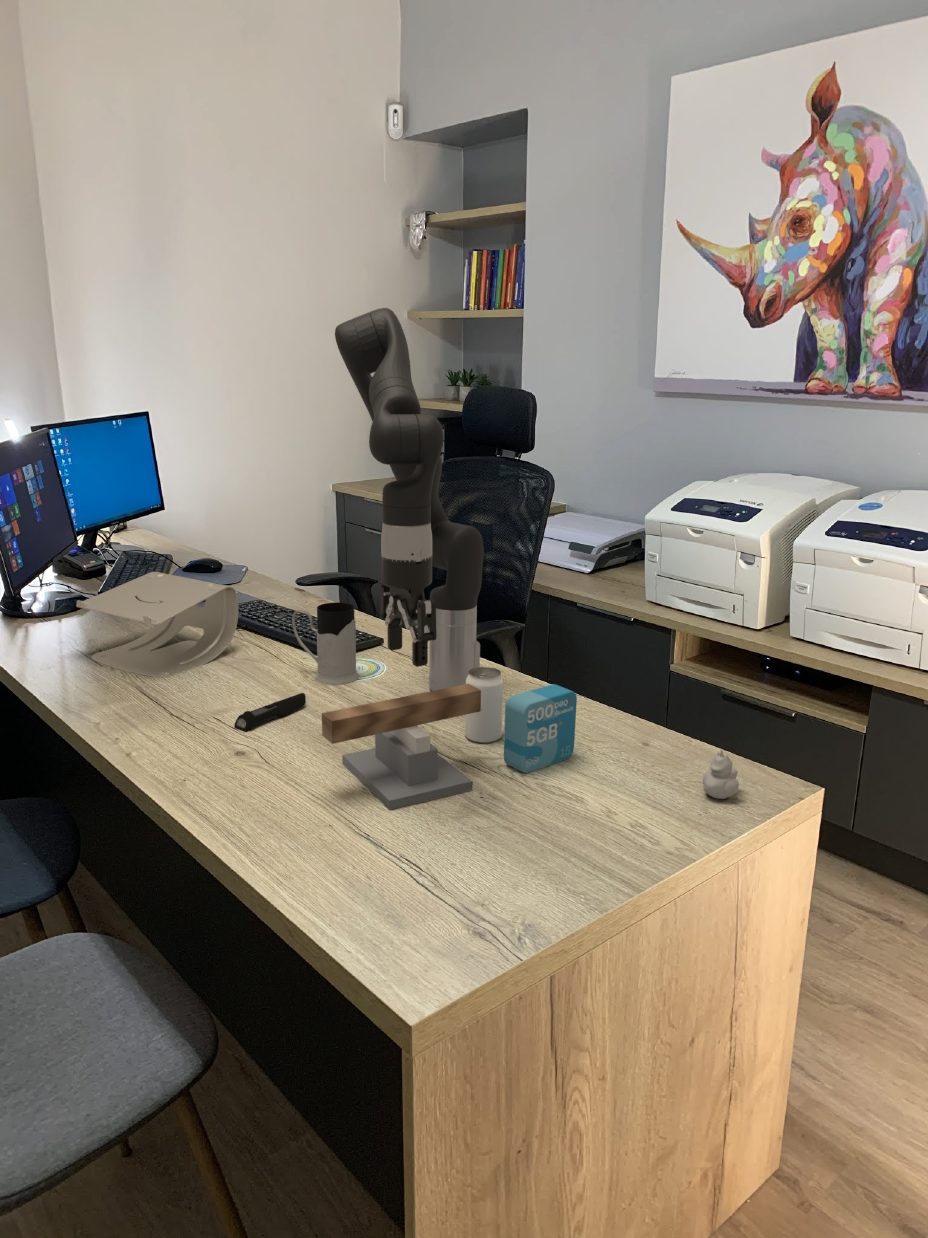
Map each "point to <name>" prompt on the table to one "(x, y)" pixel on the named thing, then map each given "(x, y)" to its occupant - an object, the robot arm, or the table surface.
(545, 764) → the data package
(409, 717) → the walnut bar
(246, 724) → the electric trimmer
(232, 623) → the portable electronic device stand
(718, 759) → the rubber duck
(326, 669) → the grey black mug
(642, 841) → the table surface
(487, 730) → the can
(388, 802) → the stand
